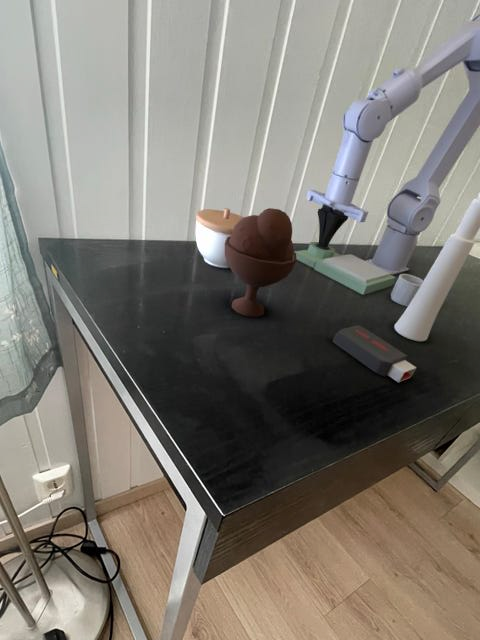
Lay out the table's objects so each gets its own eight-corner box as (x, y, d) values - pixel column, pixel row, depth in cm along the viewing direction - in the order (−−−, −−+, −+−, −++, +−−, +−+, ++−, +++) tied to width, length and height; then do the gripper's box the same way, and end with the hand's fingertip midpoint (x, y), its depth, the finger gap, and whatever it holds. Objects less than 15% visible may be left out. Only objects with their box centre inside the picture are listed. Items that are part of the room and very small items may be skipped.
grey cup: (396, 293, 82) (407, 272, 79) (420, 304, 79) (431, 283, 76) (384, 297, 78) (394, 275, 75) (408, 309, 76) (420, 288, 73)
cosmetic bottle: (415, 325, 70) (490, 191, 56) (433, 343, 66) (519, 203, 52) (387, 322, 69) (457, 184, 54) (404, 340, 64) (484, 195, 50)
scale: (345, 263, 90) (349, 251, 88) (391, 286, 85) (397, 274, 83) (313, 269, 82) (317, 257, 81) (362, 295, 77) (368, 282, 75)
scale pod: (322, 252, 93) (326, 240, 91) (342, 262, 90) (347, 249, 88) (292, 257, 85) (296, 243, 83) (313, 268, 83) (317, 254, 81)
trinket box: (180, 256, 72) (185, 201, 66) (213, 247, 80) (221, 197, 73) (225, 277, 69) (234, 222, 63) (255, 266, 76) (267, 215, 70)
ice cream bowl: (279, 301, 66) (306, 206, 56) (279, 331, 58) (310, 226, 48) (220, 287, 65) (236, 189, 55) (211, 316, 57) (228, 206, 47)
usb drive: (352, 336, 62) (359, 321, 60) (413, 377, 56) (422, 361, 54) (332, 341, 59) (338, 325, 57) (393, 385, 53) (402, 369, 51)
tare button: (319, 249, 88) (321, 242, 87) (329, 254, 87) (331, 247, 86) (311, 250, 86) (313, 243, 85) (322, 255, 85) (324, 248, 84)
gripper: (306, 165, 77) (288, 235, 86) (365, 186, 71) (338, 260, 80) (326, 166, 82) (306, 233, 91) (383, 187, 75) (355, 256, 84)
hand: (322, 245), depth 86 cm, fingers closed, pressing on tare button
